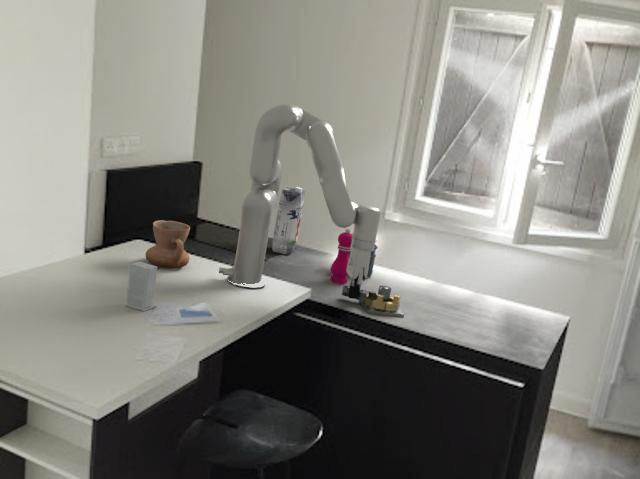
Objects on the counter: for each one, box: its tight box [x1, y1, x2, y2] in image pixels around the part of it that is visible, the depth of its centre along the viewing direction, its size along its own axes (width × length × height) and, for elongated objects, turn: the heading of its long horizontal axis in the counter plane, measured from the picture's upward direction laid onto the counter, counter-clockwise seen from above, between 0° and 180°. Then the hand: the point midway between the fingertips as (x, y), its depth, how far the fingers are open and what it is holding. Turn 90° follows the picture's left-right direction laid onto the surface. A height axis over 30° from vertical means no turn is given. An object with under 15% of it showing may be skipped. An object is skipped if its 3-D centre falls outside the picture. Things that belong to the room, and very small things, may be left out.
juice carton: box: [271, 186, 306, 256], centre depth 279 cm, size 9×10×27 cm
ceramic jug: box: [145, 219, 191, 270], centre depth 231 cm, size 18×14×14 cm
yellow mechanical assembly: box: [341, 285, 401, 311], centre depth 228 cm, size 19×11×4 cm, turn 71°
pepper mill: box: [329, 227, 353, 285], centre depth 249 cm, size 7×7×20 cm
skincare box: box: [125, 261, 158, 312], centre depth 187 cm, size 6×4×12 cm
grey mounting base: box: [359, 284, 405, 318], centre depth 227 cm, size 12×12×8 cm
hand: (352, 297), depth 227 cm, fingers closed
